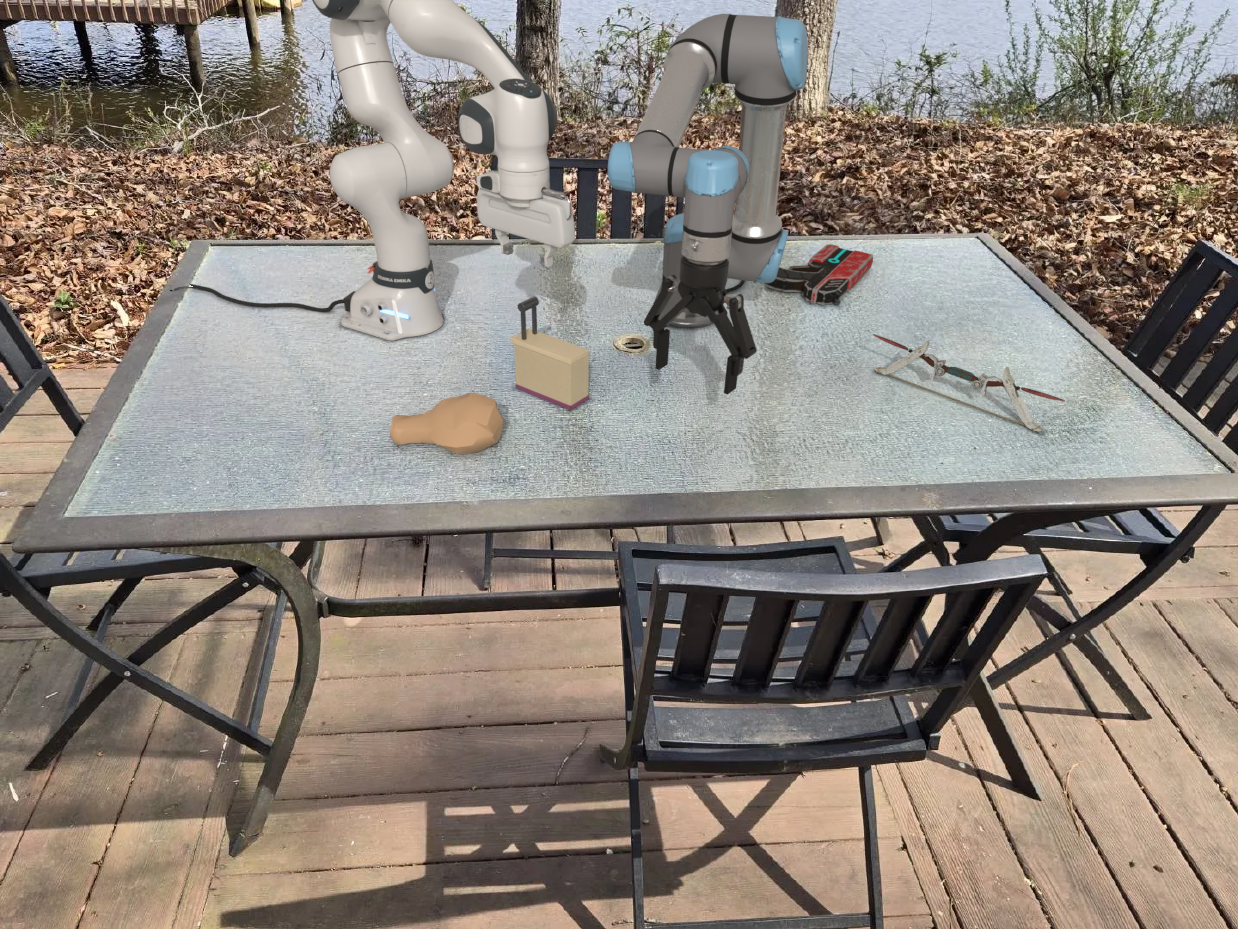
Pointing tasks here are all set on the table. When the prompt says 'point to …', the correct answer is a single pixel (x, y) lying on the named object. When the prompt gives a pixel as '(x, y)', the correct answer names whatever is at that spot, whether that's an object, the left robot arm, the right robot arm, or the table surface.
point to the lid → (544, 338)
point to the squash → (452, 425)
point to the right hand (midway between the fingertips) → (695, 378)
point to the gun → (824, 275)
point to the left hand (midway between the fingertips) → (526, 259)
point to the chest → (552, 378)
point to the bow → (978, 382)
